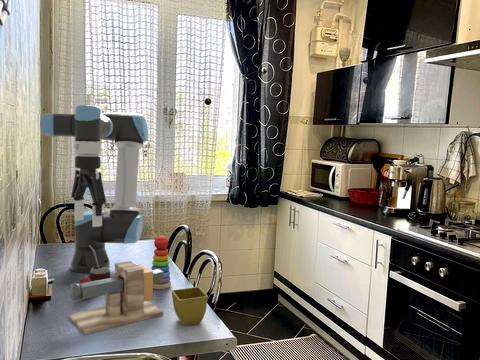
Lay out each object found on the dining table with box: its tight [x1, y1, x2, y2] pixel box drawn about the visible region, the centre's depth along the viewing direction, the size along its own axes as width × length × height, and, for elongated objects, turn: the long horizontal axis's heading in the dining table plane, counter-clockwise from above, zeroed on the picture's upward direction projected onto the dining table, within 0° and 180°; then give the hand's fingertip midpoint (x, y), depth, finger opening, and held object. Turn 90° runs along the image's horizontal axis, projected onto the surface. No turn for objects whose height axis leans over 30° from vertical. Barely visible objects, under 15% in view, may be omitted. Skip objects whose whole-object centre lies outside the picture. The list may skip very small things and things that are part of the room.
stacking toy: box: [150, 235, 172, 290], centre depth 162 cm, size 8×8×19 cm
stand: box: [69, 260, 164, 336], centre depth 135 cm, size 14×24×15 cm, turn 128°
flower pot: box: [171, 286, 209, 327], centre depth 133 cm, size 9×9×9 cm
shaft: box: [69, 269, 164, 303], centre depth 136 cm, size 5×28×5 cm, turn 128°
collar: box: [137, 263, 154, 302], centre depth 140 cm, size 9×3×9 cm, turn 38°
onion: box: [78, 275, 92, 300], centre depth 149 cm, size 6×6×8 cm
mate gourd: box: [88, 245, 111, 281], centre depth 158 cm, size 8×8×15 cm
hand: (87, 223), depth 140 cm, fingers open, 13 cm apart
